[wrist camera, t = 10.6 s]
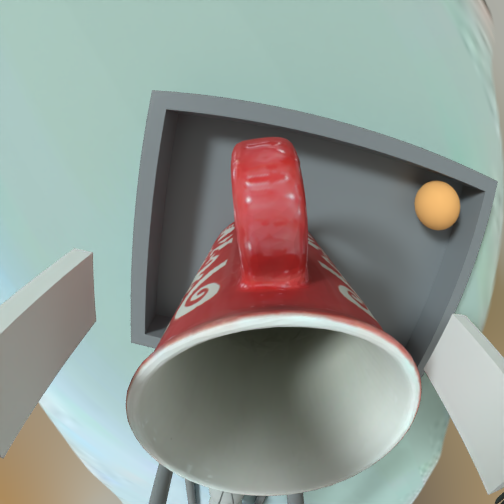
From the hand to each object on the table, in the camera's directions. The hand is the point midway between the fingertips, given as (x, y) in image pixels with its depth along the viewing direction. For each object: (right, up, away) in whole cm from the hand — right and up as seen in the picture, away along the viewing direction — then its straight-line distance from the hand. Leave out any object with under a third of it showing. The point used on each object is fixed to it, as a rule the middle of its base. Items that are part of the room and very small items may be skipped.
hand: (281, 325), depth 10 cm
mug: (0, +3, +10) cm, 11 cm away
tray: (+3, +3, +11) cm, 11 cm away
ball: (+11, +6, +9) cm, 15 cm away
